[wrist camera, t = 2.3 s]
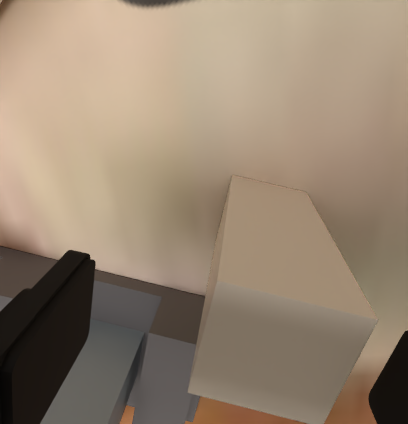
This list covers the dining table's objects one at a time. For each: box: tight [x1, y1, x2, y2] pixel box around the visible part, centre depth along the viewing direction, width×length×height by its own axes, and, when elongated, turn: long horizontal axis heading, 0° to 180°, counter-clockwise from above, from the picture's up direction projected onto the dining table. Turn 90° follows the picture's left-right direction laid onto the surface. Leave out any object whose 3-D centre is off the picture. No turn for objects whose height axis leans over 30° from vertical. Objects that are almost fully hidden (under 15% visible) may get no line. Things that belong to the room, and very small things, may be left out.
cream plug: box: [188, 175, 378, 424], centre depth 13 cm, size 4×4×10 cm
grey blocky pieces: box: [0, 246, 205, 424], centre depth 21 cm, size 23×10×4 cm, turn 78°
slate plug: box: [40, 319, 144, 424], centre depth 17 cm, size 4×4×10 cm
